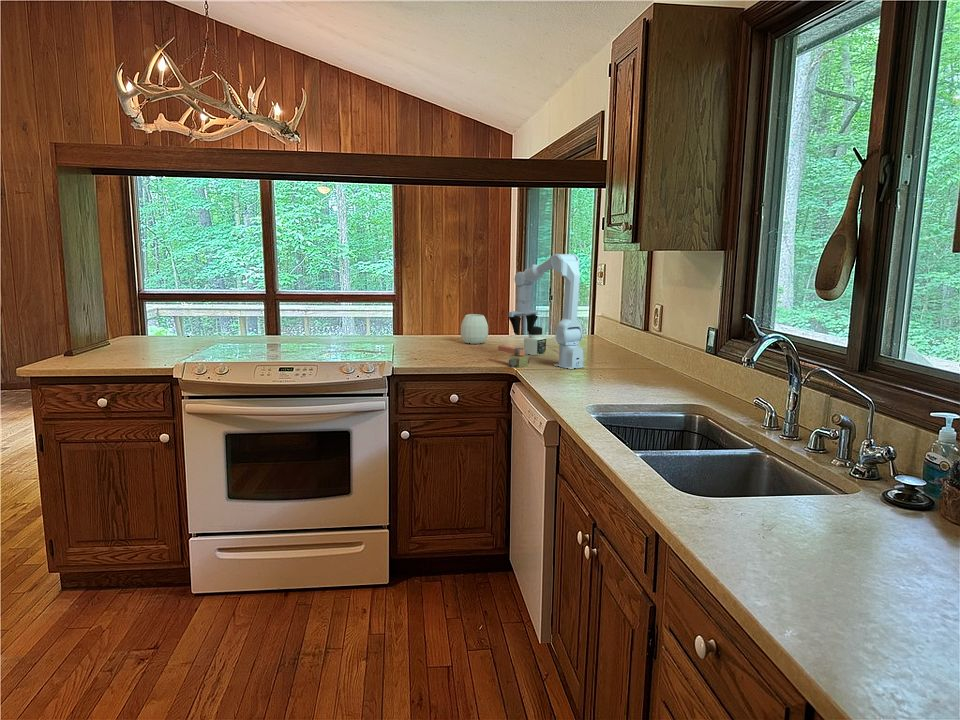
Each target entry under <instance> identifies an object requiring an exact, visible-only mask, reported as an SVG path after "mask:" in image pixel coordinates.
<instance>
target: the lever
mask: <svg viewBox="0 0 960 720" xmlns="http://www.w3.org/2000/svg"><path fill="white" fill-rule="evenodd" d="M497 350H498V351H499V352H501V353H502V352H504V353H506V354H507V353H508V354H510V355H513V354H515V355H525V356H526V354H525V350H524V347H523V348H522V347H513V346H509V345H498V346H497Z"/></svg>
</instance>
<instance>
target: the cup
mask: <svg viewBox="0 0 960 720" xmlns="http://www.w3.org/2000/svg"><path fill="white" fill-rule="evenodd" d="M488 336H489V325H488V322H487V318H486V317H485V315H484V314H480V313H479V314H477V313H475V314H474V313H469V314H465V316H464V317H463V319H462V321H461V324H460V337H461V340H462V341H463V343H466V344H469V343H470V344H469V345H479V344H480V343H481V344H484V343H485V342H486V341H487V339H488Z"/></svg>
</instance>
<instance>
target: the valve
mask: <svg viewBox="0 0 960 720" xmlns="http://www.w3.org/2000/svg"><path fill="white" fill-rule="evenodd" d="M507 362H508V367H510V368H513V367H514V368H518V369H519V368H520V369H521V368H528V367H529V364H530V359H529V355H526V354H525V355H515V354H509V360H508V361H507ZM527 366H528V367H527Z"/></svg>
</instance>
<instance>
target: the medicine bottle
mask: <svg viewBox="0 0 960 720" xmlns="http://www.w3.org/2000/svg"><path fill="white" fill-rule="evenodd" d="M527 335H528V337H527V336H526V337H524V338H523V350H525V355H528V354H530V355H529V356H535V355H538V356H541V355H545V354H546V353H547V338H546V337H545V336H543V328H542V326H536V325H534V326H533V330H532V332H531V333H530V332H528V331H527Z"/></svg>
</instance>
